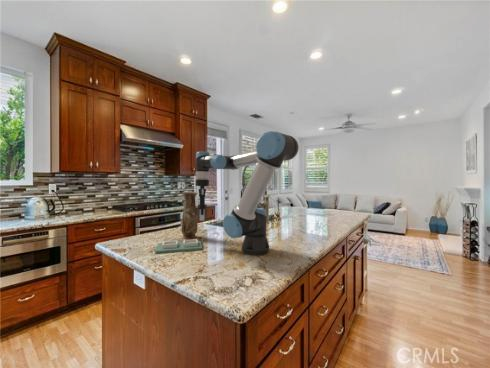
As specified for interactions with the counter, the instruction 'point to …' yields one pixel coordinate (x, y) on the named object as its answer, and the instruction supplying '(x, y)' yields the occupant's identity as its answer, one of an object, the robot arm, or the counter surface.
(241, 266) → the counter surface
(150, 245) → the counter surface
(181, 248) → the board
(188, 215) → the vase
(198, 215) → the plug
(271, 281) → the counter surface
